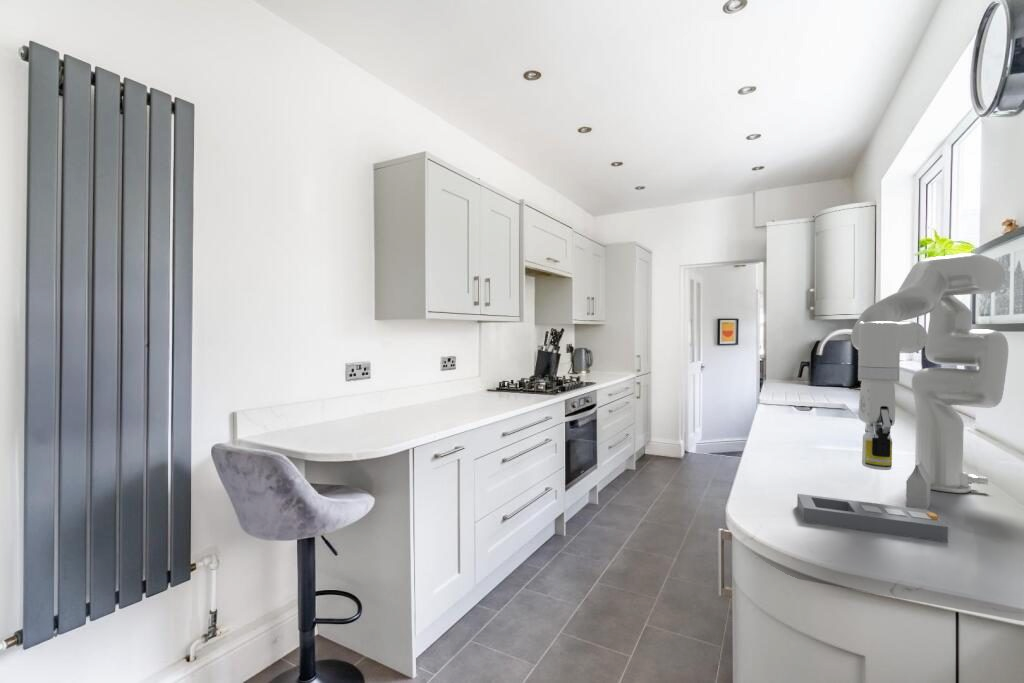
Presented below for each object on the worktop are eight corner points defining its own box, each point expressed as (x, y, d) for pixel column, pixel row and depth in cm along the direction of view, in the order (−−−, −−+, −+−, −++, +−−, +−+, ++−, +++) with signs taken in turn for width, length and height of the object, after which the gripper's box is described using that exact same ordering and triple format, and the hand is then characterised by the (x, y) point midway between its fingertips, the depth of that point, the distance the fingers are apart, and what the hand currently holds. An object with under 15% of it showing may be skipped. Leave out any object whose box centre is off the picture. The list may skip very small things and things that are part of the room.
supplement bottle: (897, 471, 106) (897, 427, 106) (869, 469, 107) (870, 426, 107) (883, 465, 111) (884, 423, 111) (857, 463, 112) (858, 422, 112)
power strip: (927, 523, 101) (928, 506, 101) (947, 542, 92) (948, 523, 91) (797, 506, 111) (797, 491, 111) (803, 521, 101) (803, 504, 101)
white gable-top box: (930, 503, 113) (931, 461, 113) (926, 510, 109) (927, 467, 109) (910, 499, 116) (911, 458, 116) (906, 506, 111) (906, 463, 111)
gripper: (849, 372, 118) (848, 444, 118) (868, 376, 103) (867, 460, 103) (887, 373, 115) (885, 447, 115) (912, 378, 99) (910, 464, 100)
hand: (876, 452), depth 109 cm, fingers closed on supplement bottle, 5 cm apart
